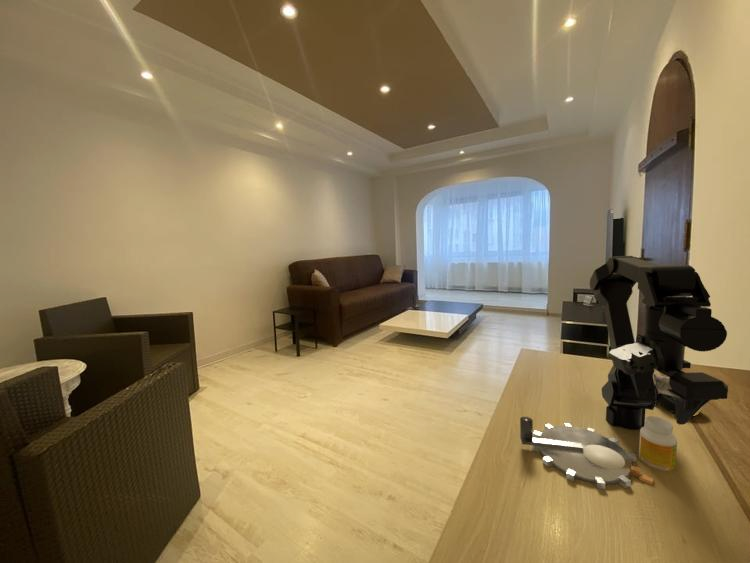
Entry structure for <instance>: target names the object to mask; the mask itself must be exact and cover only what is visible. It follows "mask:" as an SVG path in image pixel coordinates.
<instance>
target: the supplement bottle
mask: <svg viewBox="0 0 750 563" xmlns="http://www.w3.org/2000/svg"><path fill="white" fill-rule="evenodd" d="M673 431H674V425H673V424H672V422H670V421H669V420H667V419H666V418H663V417H659V416H654V415H653V416H650V415H649V416H645V426H644V427H641V428H640V429H639V446H638V458H639V460H640V461H641V462H642V463H644V465H646V466H649V467H650V468H652V469H655V470H658V471H662V472H672V471H675V469H676V464H677V463H676V462H677V461H676V459H677V449H678V448H677V447H678V446H677V445H678V439H677V437H676V436H675V434H673Z"/></svg>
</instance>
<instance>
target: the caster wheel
mask: <svg viewBox="0 0 750 563" xmlns="http://www.w3.org/2000/svg"><path fill="white" fill-rule="evenodd" d="M669 378H670V377H668V376H665V375H660V374H655V373H654V374H653V381H654V385H655V386H656V388H657V391H658V398H657V401H656V402H658V403H659V404H660V405H661V406H662V407H664V408H665V409H666V410H668V411H670V412H672V413H674V414H676V408H675V397H674V396H673V395H672V394H671V393H670V392H669V391H668V389H672V388H671V386H670V385H669Z"/></svg>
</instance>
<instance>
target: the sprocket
mask: <svg viewBox="0 0 750 563" xmlns="http://www.w3.org/2000/svg"><path fill="white" fill-rule="evenodd" d="M533 422H534V421H533V419H532V418H531V417H528V416H521V417H520V419H519V423H520V424H519V425H520V426H519V427H520V428H519V429H520V436H519V437H520V442H521V445H527V446H528V445H529V446H532V450H533V452H539V453H540V454H541V456H542V464H543V465H544V466H545V467H547V468H549V467H554V468H556V469H557V470H558V471H560V472H562V473H564V474H565V479H566V480H568V481H570V482H575V479H577V480H581V481H584V482H587V483H588V482H589V483H591V484H595V487H596V489H599V490H606V485H615V484H619V485H620V486H622V487H623V488H624V489H627V488H630V487H631V486H632V485H631V482H632V481H631V479H629V478H630V476H634V477H636V478H638V479H639V477H640V473H641V468H640V467H638V466H635V465H633V464H632V462H633V463H636V462H637V456H636V454H635V453H634V452H633V451H632V452H631V451H626V450H625V449H623V447H622V446H620V442H619V441H620V440H618V439H617V438H615V437H610V438H608V437H606V436H604V435H602V434H600V433H597V432H596V430H595V428H591V427H589V426H588V428H587V429H586V428H581V427H578V426H577V427H576V426H572V425H571V423H569V422H564V423H563V425H557V426H553V425H551V424H550V423H547V424H545V425H544V430H542V432H540V431H537V430H533V428H534V427H533V424H534V423H533Z"/></svg>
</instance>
